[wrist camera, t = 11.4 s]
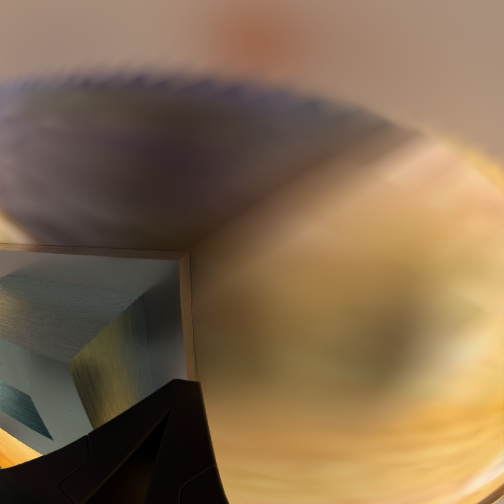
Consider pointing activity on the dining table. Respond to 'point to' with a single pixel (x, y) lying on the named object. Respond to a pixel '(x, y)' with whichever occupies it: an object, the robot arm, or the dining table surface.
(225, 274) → the dining table surface
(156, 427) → the robot arm
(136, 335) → the clip
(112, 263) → the panel
